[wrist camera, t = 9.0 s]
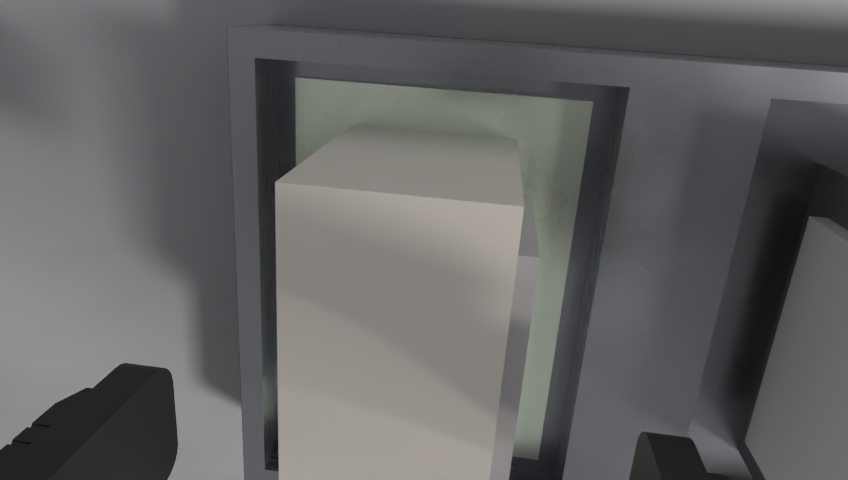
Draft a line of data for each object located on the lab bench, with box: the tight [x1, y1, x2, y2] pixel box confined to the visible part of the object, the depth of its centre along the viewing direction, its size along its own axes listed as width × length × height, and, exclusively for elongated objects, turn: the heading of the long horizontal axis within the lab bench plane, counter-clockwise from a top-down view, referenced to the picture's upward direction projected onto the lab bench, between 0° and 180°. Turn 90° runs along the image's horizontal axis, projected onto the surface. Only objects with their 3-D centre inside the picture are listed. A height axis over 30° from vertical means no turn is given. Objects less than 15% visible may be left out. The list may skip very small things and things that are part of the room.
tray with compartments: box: [227, 25, 848, 480], centre depth 16 cm, size 20×12×3 cm, turn 86°
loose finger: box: [275, 126, 540, 480], centre depth 14 cm, size 4×8×6 cm, turn 176°
